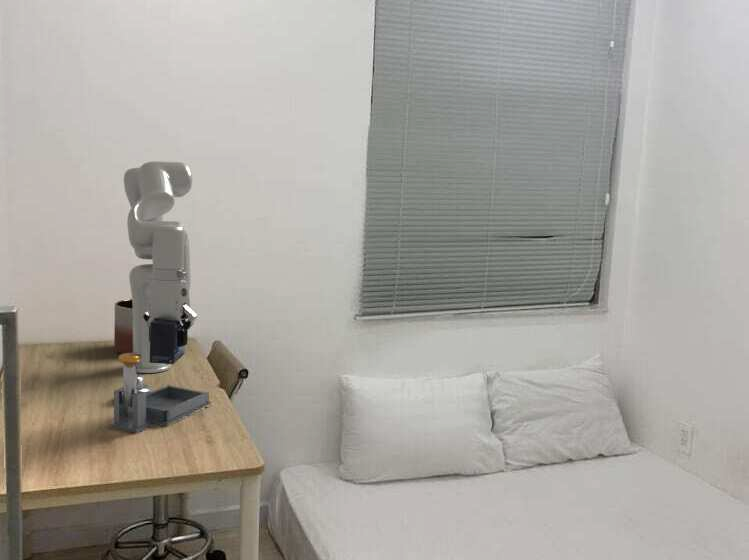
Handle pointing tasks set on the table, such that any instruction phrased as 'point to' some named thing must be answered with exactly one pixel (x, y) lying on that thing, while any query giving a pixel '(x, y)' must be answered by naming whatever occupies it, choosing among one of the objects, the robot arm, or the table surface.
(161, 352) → the small box
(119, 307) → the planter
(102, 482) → the table surface
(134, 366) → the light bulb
